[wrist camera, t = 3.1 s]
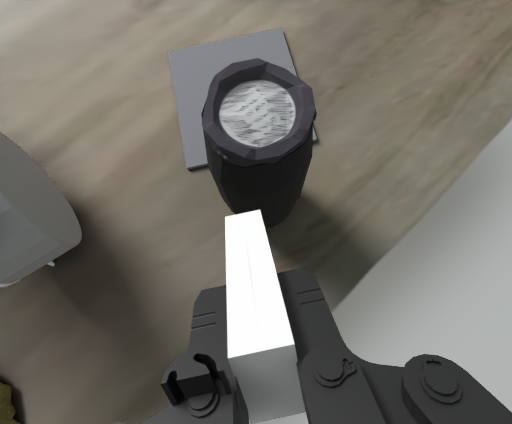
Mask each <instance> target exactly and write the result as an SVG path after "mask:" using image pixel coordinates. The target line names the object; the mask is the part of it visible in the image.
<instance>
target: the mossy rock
mask: <svg viewBox="0 0 512 424" xmlns="http://www.w3.org/2000/svg"><path fill="white" fill-rule="evenodd" d="M11 393H12V386H11V385H7V384H3V383H1V381H0V424H22V423H19V422H17V421H16V420H14V419H13V416H14V414H15V413H16V410H15V408H14V406H13V405H12V403H11Z"/></svg>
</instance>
